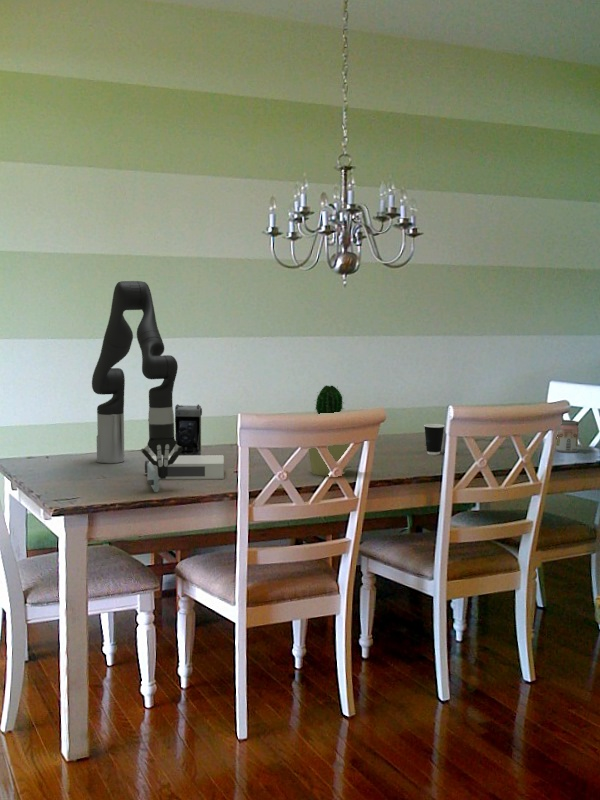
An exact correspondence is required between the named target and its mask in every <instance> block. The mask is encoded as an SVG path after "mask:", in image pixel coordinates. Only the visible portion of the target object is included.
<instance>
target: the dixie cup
mask: <svg viewBox="0 0 600 800" xmlns="http://www.w3.org/2000/svg"><path fill="white" fill-rule="evenodd" d="M423 426H424V433H425V434H424V436H425V447H426V452H427V453H426V454H428V455H433V456H436V455H441V452H442V446H443V439H444V430H445V427H446V425H445V424H441V423H440V424H439V423H426V424H424V425H423Z"/></svg>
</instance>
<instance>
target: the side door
mask: <svg viewBox="0 0 600 800" xmlns="http://www.w3.org/2000/svg"><path fill="white" fill-rule="evenodd" d="M146 474H147V478H146V479H147V485H148V486H150V487H151V488H152V490H153V492H154V493H158V492H159V479H158V474H157V472H156V471H155V469H154V467H153V464H152V463H149V464H147V473H146Z"/></svg>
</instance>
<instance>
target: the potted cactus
mask: <svg viewBox="0 0 600 800" xmlns="http://www.w3.org/2000/svg"><path fill="white" fill-rule="evenodd" d="M338 386H339V385H338ZM338 386H337V387H336V386H335V385H333V384H332V385H331V384H330V385H326V384H325V385H324V384H323V387H322V388H321V390H319V392H318V393H319V394H317V395H316V397H317V398H316V401H315V402H316V403H315V411H316V413H315V414H317V415H318V414H320V413H334V412H340V413H341V412H343V410H345V408H344V407H343V404H345V402H343V394H342V393H341V391H340V390H339V389H338ZM348 447H349V448H350V445H349V444H345V445H333V446H328V450H329V452H330V453H331V454H332V456H333V458H334V459H335V461H338V460H339V459H340V458H341V456H342V455H343V454H344V452H345V451H346V450H347V448H348ZM308 454H309V456H308V457H309V461H310V462H309V463H310V471H311V474H313V475H317V476H323V477H328V476H327V475H328V473H329V469H328V467H327V465H326V464H325V462H324V461H323V459H322V458H321V456H320V454H319V453H318V450H317V449H316V448H311V449H308ZM346 468H347V466H346V467H345V468H344V469H343V472H345V473H346V470H347V469H346Z"/></svg>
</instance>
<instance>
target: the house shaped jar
mask: <svg viewBox="0 0 600 800" xmlns="http://www.w3.org/2000/svg"><path fill="white" fill-rule="evenodd" d="M561 420H562V424H561V426H560V429H559V432H558V438H557V445H556V444H555V450H556V451H557V452H559V453H565V454H573V453H574V454H575V453H577V451H578V449H579V424H580V422H579V421H577V420H571V419H561Z"/></svg>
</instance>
